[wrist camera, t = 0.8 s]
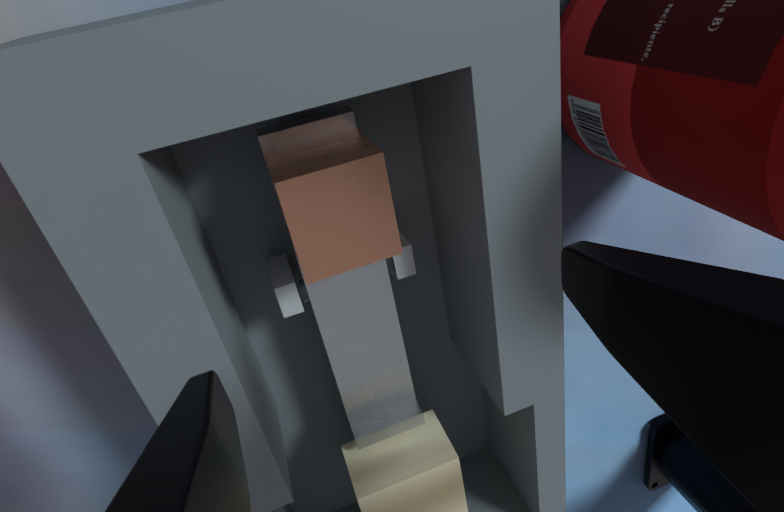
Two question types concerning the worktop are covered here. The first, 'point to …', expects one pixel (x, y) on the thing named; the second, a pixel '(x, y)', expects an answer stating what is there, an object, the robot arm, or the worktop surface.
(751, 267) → the worktop surface
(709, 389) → the robot arm
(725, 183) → the canned food
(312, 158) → the ejector lever
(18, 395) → the worktop surface
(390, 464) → the beige block
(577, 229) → the worktop surface
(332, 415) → the pocket board
